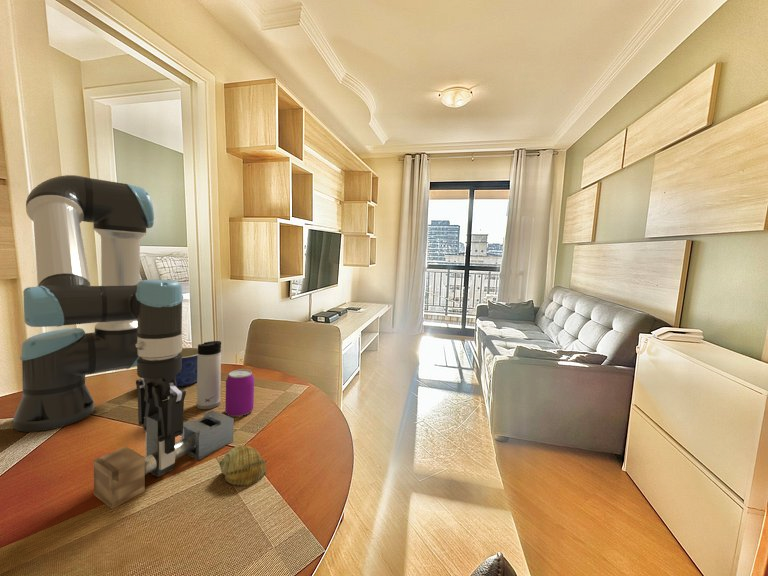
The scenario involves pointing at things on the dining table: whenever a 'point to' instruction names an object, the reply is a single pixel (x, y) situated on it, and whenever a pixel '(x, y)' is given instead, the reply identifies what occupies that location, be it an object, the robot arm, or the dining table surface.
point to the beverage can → (239, 392)
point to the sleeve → (209, 433)
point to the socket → (119, 476)
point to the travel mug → (208, 374)
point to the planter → (188, 367)
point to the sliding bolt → (153, 446)
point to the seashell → (243, 466)
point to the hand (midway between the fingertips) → (160, 461)
